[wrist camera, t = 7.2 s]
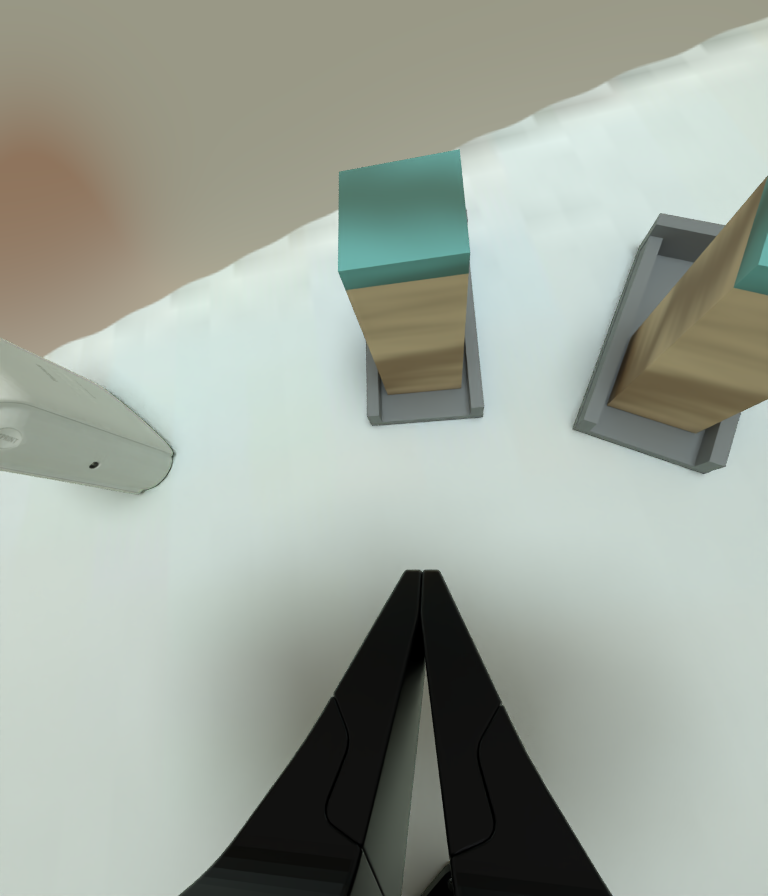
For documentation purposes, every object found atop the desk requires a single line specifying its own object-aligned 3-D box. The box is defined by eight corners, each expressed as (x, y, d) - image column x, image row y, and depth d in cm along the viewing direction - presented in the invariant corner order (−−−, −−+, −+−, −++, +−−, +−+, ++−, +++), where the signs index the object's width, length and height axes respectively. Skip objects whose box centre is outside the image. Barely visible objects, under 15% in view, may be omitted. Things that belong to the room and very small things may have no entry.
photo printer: (188, 454, 26) (-35, 372, 14) (145, 505, 25) (-122, 466, 13) (101, 378, 29) (-144, 257, 17) (61, 423, 28) (-218, 331, 16)
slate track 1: (482, 416, 23) (486, 401, 20) (372, 425, 24) (363, 411, 22) (465, 240, 26) (466, 209, 24) (369, 254, 27) (361, 226, 25)
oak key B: (695, 433, 20) (961, 306, 10) (606, 405, 21) (758, 264, 11) (717, 361, 21) (986, 170, 10) (630, 337, 22) (793, 144, 12)
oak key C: (461, 388, 23) (470, 252, 13) (387, 394, 24) (338, 271, 13) (455, 323, 24) (459, 149, 14) (385, 331, 25) (338, 171, 14)
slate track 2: (704, 473, 20) (738, 463, 18) (572, 428, 22) (587, 414, 19) (763, 272, 22) (800, 239, 20) (639, 246, 24) (660, 213, 22)
